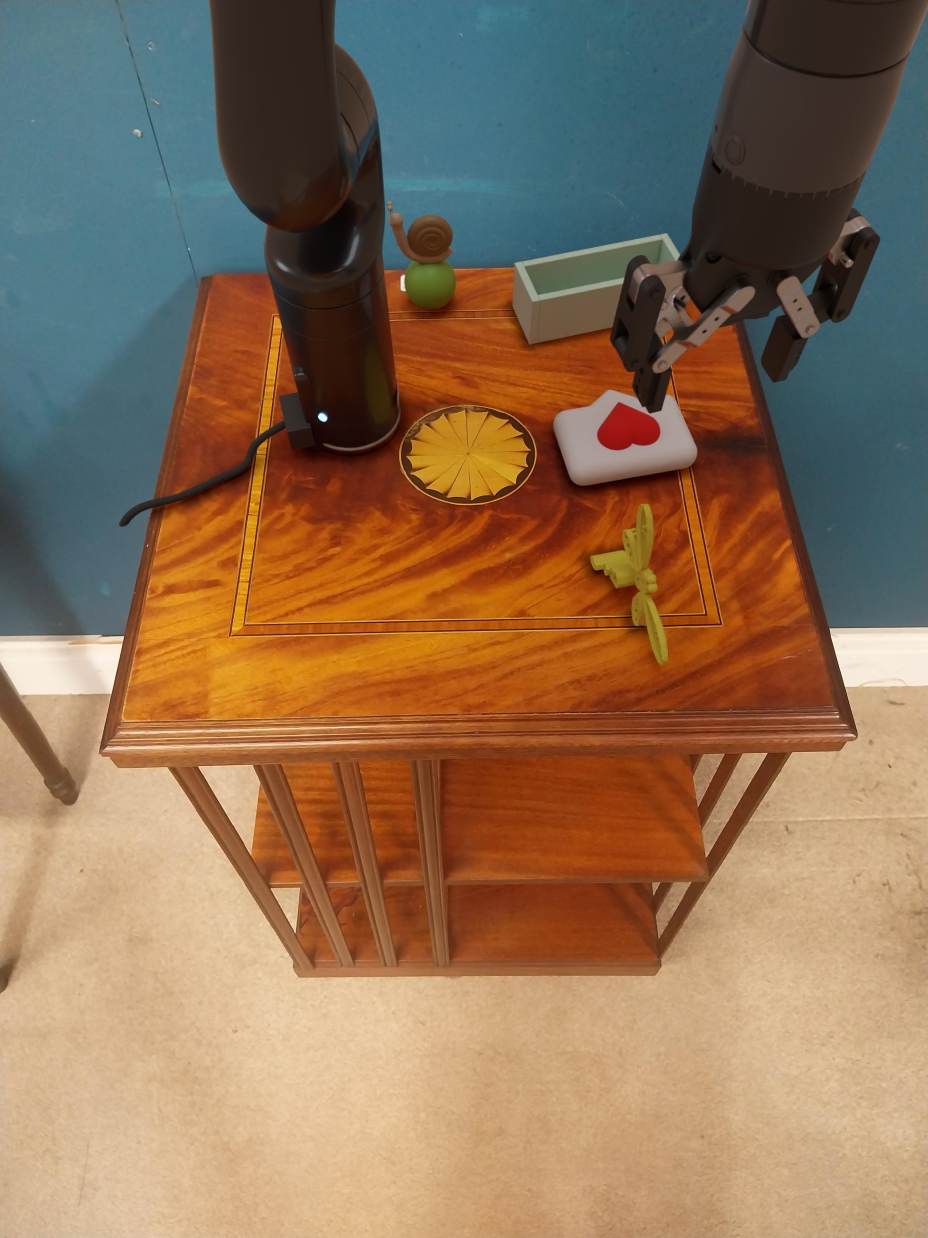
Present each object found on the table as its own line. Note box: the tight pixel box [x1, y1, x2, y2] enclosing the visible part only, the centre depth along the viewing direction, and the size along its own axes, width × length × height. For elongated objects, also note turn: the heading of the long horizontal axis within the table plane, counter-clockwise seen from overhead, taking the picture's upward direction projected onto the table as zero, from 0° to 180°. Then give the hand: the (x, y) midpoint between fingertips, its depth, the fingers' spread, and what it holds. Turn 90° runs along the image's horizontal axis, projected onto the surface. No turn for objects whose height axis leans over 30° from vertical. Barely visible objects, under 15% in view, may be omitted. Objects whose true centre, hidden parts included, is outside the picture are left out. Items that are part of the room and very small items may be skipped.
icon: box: [552, 389, 698, 487], centre depth 80 cm, size 12×4×10 cm
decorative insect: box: [589, 503, 669, 666], centre depth 71 cm, size 13×3×10 cm
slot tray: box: [512, 233, 681, 345], centre depth 88 cm, size 17×6×6 cm, turn 105°
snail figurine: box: [386, 200, 457, 311], centre depth 86 cm, size 5×6×12 cm
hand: (710, 387), depth 54 cm, fingers open, 8 cm apart
